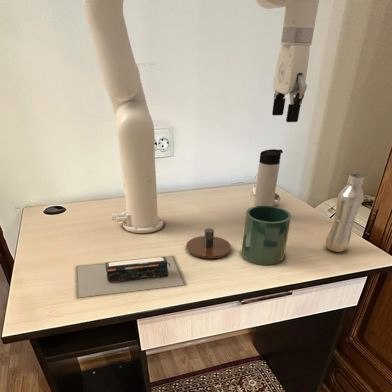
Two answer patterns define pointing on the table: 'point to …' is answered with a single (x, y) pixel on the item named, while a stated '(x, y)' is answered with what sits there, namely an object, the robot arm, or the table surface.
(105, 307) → the table surface
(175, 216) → the table surface
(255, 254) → the green ceramic cup
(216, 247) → the lid
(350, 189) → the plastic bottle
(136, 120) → the robot arm
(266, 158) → the travel mug
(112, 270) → the grey board with block
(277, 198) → the woman figurine
